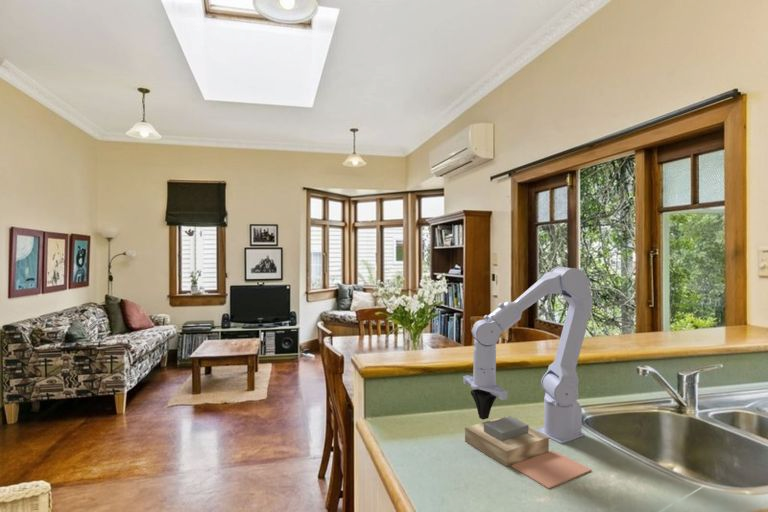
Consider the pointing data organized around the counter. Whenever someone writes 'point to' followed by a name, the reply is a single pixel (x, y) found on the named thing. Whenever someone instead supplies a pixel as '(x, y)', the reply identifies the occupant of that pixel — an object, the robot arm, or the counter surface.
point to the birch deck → (507, 444)
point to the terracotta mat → (551, 469)
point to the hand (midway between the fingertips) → (483, 418)
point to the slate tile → (506, 428)
